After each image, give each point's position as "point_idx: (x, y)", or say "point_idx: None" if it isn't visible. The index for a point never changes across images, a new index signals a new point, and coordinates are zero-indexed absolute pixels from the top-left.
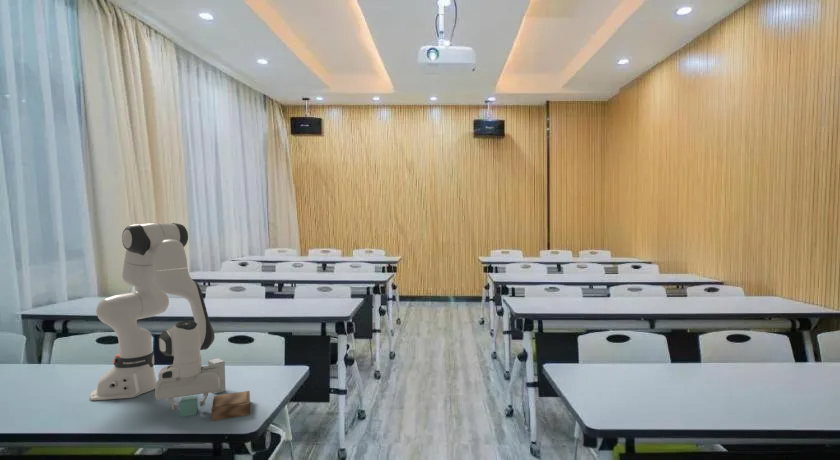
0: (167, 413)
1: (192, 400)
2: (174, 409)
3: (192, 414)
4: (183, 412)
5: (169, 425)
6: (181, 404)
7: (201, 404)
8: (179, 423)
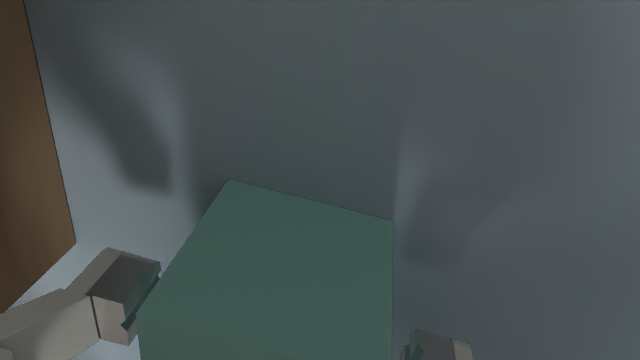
0: (479, 354)
1: (191, 345)
2: (443, 339)
3: (265, 193)
4: (354, 242)
5: (589, 38)
6: (366, 344)
7: (132, 267)
8: (446, 23)
